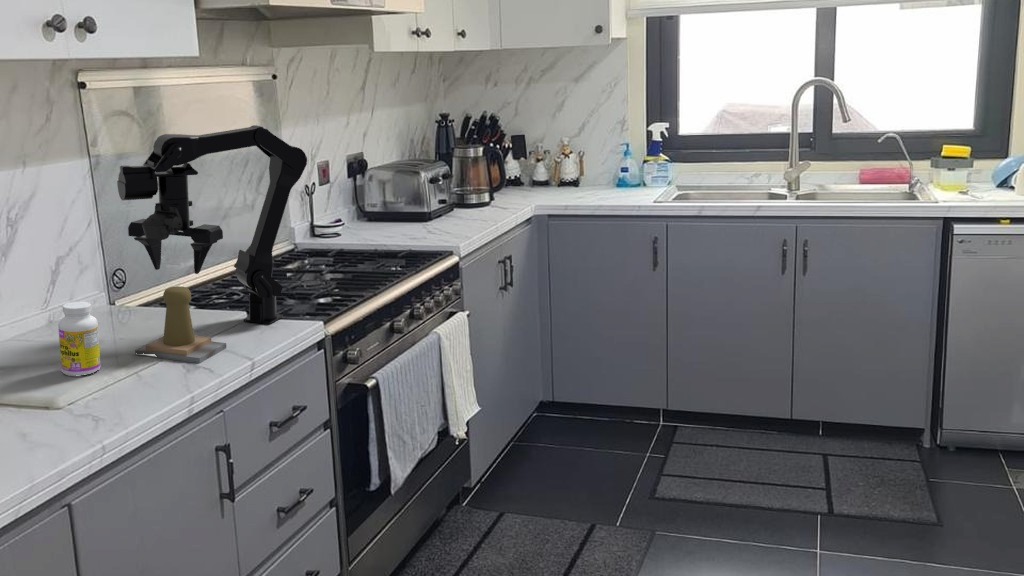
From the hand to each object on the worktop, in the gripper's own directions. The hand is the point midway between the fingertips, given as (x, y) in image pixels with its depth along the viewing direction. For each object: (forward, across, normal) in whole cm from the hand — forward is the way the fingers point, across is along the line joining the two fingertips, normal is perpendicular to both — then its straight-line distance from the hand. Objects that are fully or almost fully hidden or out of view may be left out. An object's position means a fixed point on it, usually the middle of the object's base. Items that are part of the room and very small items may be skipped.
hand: (177, 271), depth 204 cm
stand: (+13, +8, -12) cm, 19 cm away
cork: (+11, +7, -11) cm, 17 cm away
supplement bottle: (+13, -3, -28) cm, 31 cm away
